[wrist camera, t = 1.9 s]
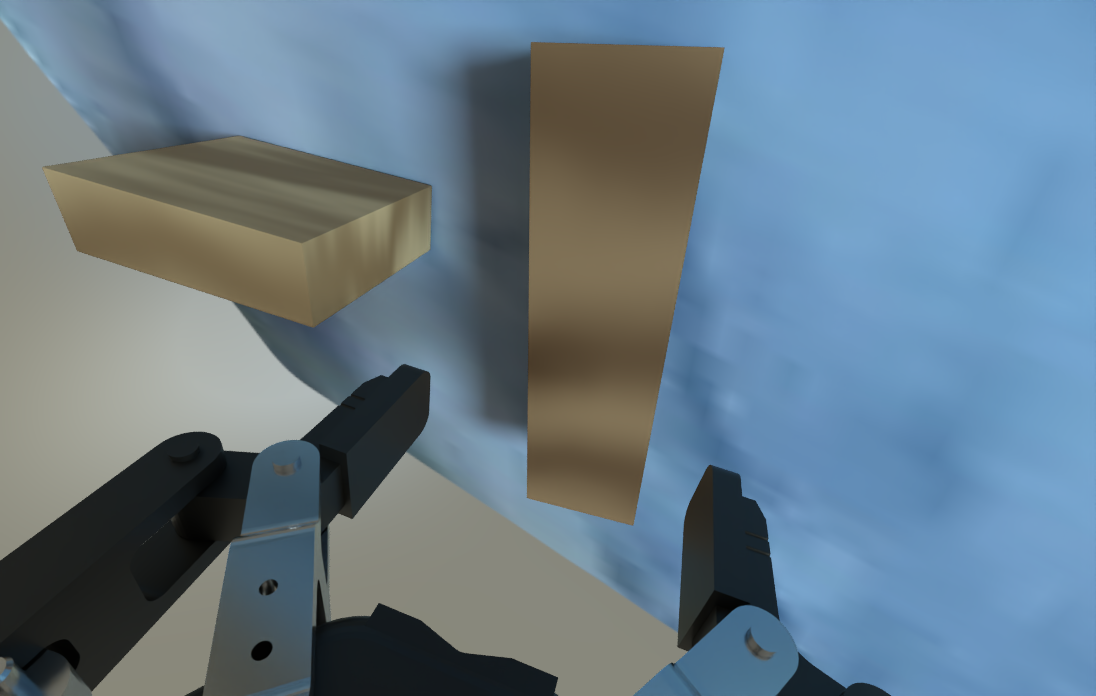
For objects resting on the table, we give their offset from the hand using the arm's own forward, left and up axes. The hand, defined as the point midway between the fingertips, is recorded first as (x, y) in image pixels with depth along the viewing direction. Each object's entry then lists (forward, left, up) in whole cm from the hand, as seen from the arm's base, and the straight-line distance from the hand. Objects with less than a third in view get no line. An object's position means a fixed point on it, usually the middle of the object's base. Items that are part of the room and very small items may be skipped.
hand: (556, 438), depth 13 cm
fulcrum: (-1, -14, -10) cm, 17 cm away
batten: (0, 0, -10) cm, 10 cm away
